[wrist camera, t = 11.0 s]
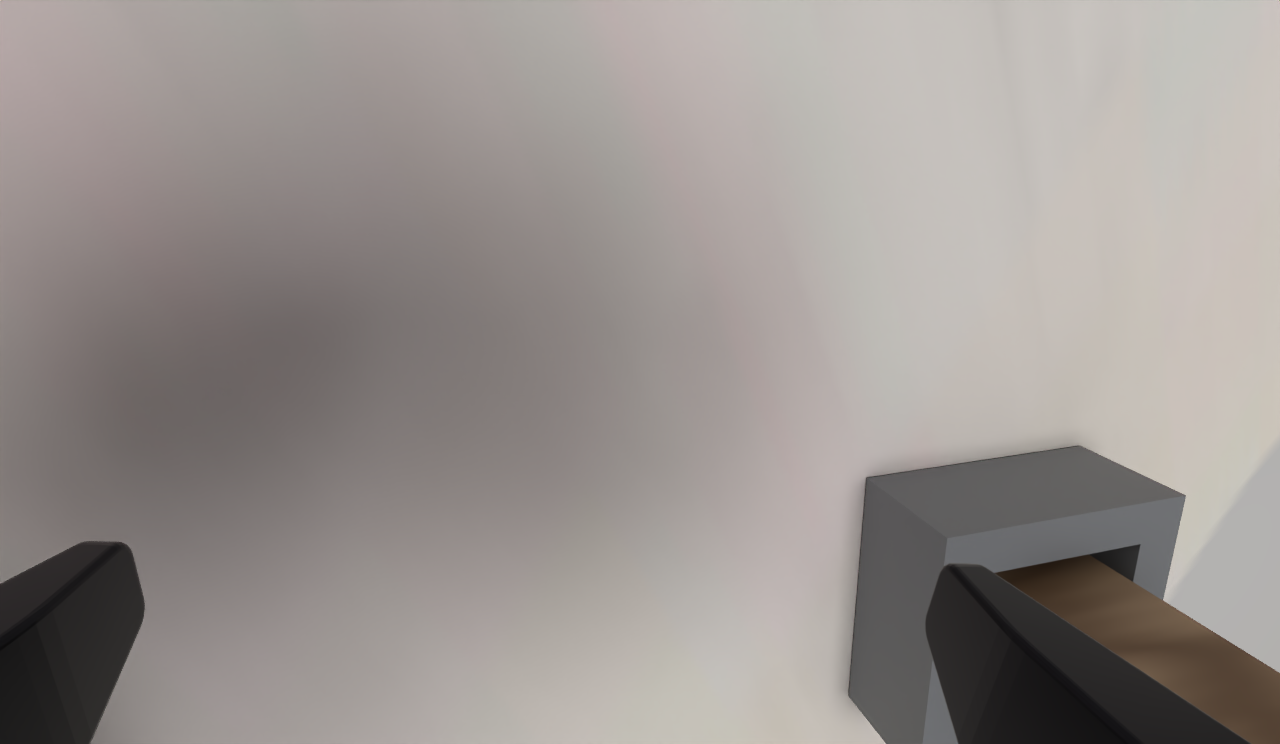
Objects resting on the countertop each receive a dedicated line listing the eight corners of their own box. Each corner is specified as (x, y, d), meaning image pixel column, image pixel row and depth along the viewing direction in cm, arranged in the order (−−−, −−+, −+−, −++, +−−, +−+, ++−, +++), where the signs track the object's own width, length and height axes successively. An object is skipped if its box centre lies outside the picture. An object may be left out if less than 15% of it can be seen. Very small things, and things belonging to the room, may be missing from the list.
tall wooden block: (926, 648, 27) (1353, 1070, 15) (938, 543, 25) (1414, 910, 14) (1024, 625, 28) (1496, 1002, 16) (1040, 524, 27) (1565, 850, 15)
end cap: (848, 696, 28) (917, 783, 24) (866, 478, 25) (947, 537, 21) (1045, 650, 30) (1135, 723, 26) (1080, 445, 27) (1185, 495, 24)
